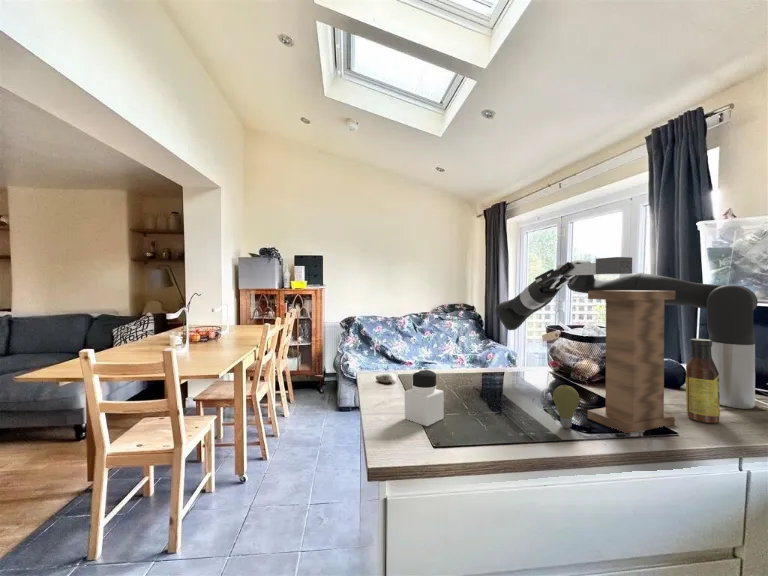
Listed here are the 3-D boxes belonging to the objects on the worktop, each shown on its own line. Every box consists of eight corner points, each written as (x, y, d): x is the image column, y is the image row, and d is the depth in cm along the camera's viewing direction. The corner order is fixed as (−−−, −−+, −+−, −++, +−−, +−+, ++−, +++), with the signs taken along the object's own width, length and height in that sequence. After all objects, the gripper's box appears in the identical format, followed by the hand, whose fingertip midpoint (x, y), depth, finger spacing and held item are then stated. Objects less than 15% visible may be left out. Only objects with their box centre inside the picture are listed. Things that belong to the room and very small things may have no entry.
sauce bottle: (726, 425, 85) (727, 342, 85) (696, 423, 86) (696, 341, 86) (707, 415, 91) (708, 338, 91) (679, 413, 92) (680, 337, 92)
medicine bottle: (444, 418, 90) (444, 371, 90) (427, 427, 85) (427, 376, 84) (421, 411, 95) (421, 366, 94) (404, 419, 89) (403, 371, 89)
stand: (633, 410, 95) (634, 290, 95) (674, 424, 85) (675, 290, 85) (587, 418, 90) (587, 290, 89) (625, 433, 80) (626, 291, 80)
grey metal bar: (567, 275, 108) (567, 262, 108) (632, 273, 89) (632, 257, 89) (554, 275, 106) (554, 262, 106) (617, 273, 87) (617, 256, 87)
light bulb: (569, 434, 80) (569, 390, 80) (547, 425, 85) (547, 384, 85) (584, 429, 83) (585, 386, 82) (563, 421, 88) (563, 381, 87)
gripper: (559, 303, 116) (600, 275, 102) (523, 304, 112) (561, 275, 98) (550, 283, 120) (589, 254, 106) (515, 283, 115) (551, 252, 101)
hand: (575, 264), depth 102 cm, fingers closed on grey metal bar, 3 cm apart
